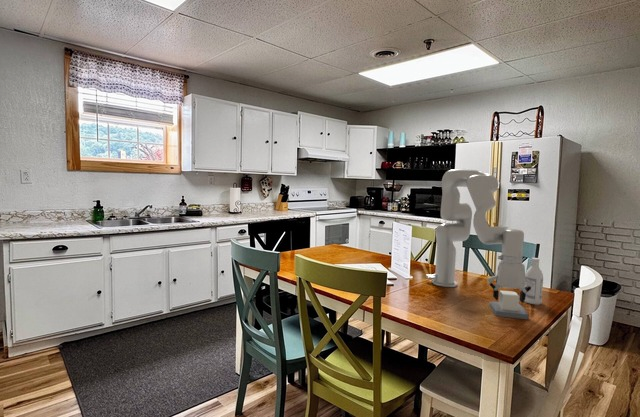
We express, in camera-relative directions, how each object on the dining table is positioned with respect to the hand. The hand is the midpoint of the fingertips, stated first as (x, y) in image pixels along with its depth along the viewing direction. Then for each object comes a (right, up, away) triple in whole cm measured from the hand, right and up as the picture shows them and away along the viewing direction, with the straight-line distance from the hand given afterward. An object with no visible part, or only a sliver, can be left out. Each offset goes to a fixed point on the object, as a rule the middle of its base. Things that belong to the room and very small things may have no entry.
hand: (508, 300), depth 147 cm
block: (0, -3, 0) cm, 3 cm away
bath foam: (+18, -4, +13) cm, 23 cm away
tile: (0, -5, 0) cm, 5 cm away
